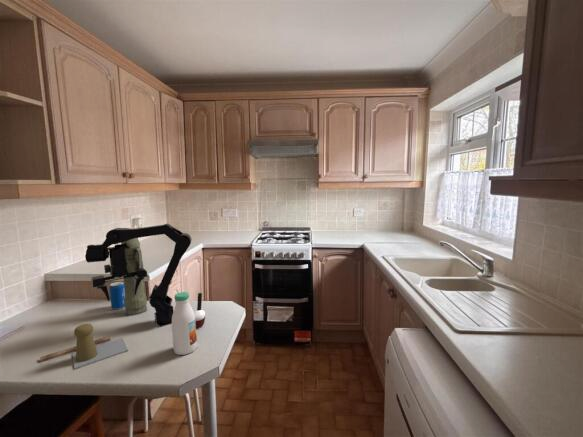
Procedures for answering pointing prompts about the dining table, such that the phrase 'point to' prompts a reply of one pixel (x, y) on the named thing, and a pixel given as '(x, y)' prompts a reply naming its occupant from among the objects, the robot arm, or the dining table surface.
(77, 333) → the cork
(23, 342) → the dining table surface
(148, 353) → the dining table surface
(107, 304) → the dining table surface
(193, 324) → the milk bottle
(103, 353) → the mat
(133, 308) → the thermos
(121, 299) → the beverage can
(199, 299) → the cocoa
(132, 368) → the dining table surface
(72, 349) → the walnut line
